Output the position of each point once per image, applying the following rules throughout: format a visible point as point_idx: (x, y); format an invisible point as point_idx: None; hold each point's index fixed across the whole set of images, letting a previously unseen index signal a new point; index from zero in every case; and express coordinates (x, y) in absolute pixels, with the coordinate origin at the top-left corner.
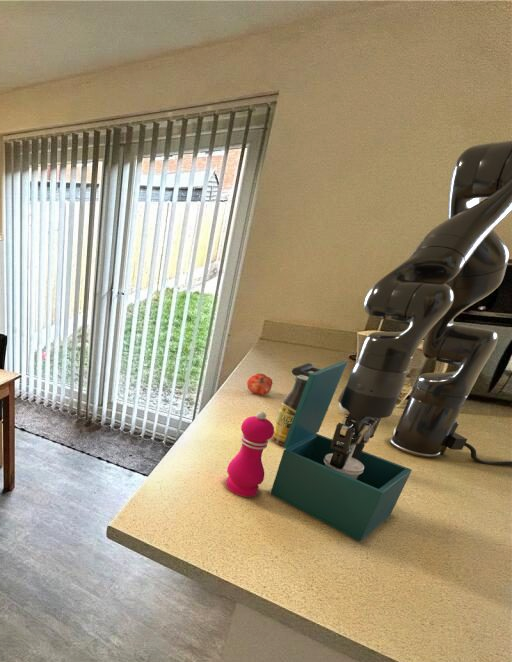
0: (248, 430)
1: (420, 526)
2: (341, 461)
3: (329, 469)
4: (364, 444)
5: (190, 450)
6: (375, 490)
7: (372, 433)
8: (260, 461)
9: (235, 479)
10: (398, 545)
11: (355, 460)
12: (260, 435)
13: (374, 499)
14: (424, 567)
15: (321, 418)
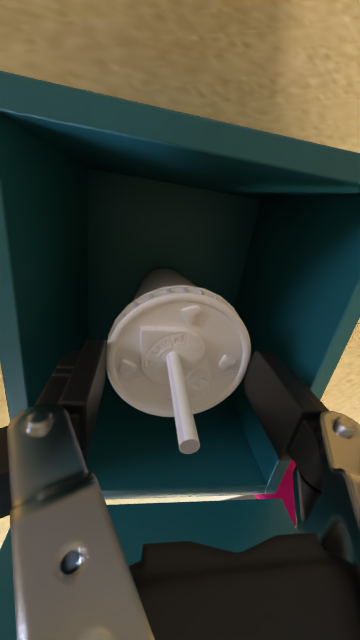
0: None
1: (47, 61)
2: (303, 385)
3: (329, 378)
4: (71, 400)
5: (184, 498)
6: None
7: (37, 521)
8: (290, 469)
9: None
10: (213, 106)
11: (123, 339)
12: None
13: None
14: (269, 25)
15: (5, 635)
